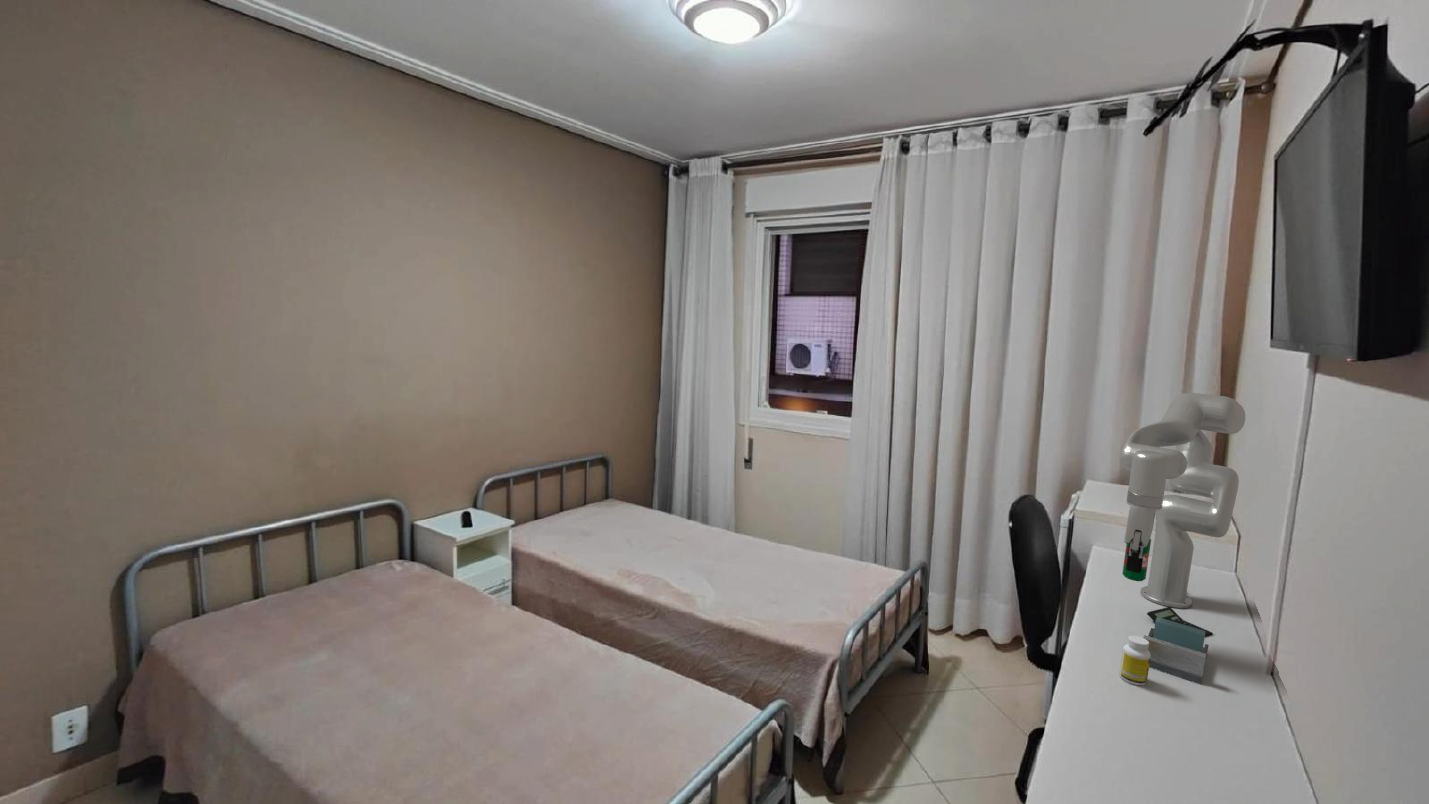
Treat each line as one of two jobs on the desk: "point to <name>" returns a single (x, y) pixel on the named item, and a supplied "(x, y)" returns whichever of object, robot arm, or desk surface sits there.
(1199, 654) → the grey tray
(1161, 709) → the desk surface
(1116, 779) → the desk surface
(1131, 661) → the supplement bottle
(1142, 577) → the soda can
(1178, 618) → the calculator
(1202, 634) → the block
